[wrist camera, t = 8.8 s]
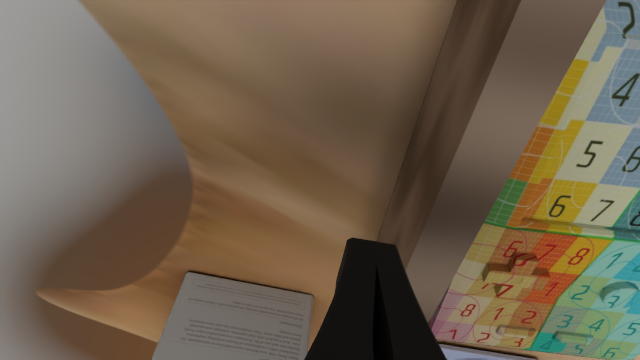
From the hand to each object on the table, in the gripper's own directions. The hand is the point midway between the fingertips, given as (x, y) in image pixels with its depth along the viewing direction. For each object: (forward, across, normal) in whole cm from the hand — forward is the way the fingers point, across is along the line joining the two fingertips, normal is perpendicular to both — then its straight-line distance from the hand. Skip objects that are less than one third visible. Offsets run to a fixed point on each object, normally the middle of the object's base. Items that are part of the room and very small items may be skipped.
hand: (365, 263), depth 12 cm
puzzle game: (+10, -11, +2) cm, 15 cm away
